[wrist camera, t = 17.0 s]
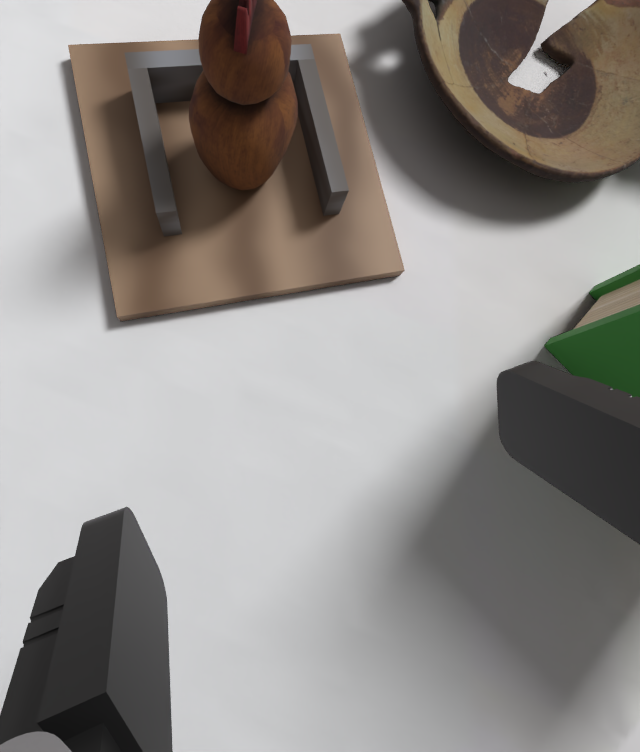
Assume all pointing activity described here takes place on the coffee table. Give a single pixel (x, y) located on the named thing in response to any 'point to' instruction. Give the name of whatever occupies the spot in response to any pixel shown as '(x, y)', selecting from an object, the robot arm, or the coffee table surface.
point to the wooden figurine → (243, 92)
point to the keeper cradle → (218, 201)
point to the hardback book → (606, 336)
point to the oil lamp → (558, 101)
